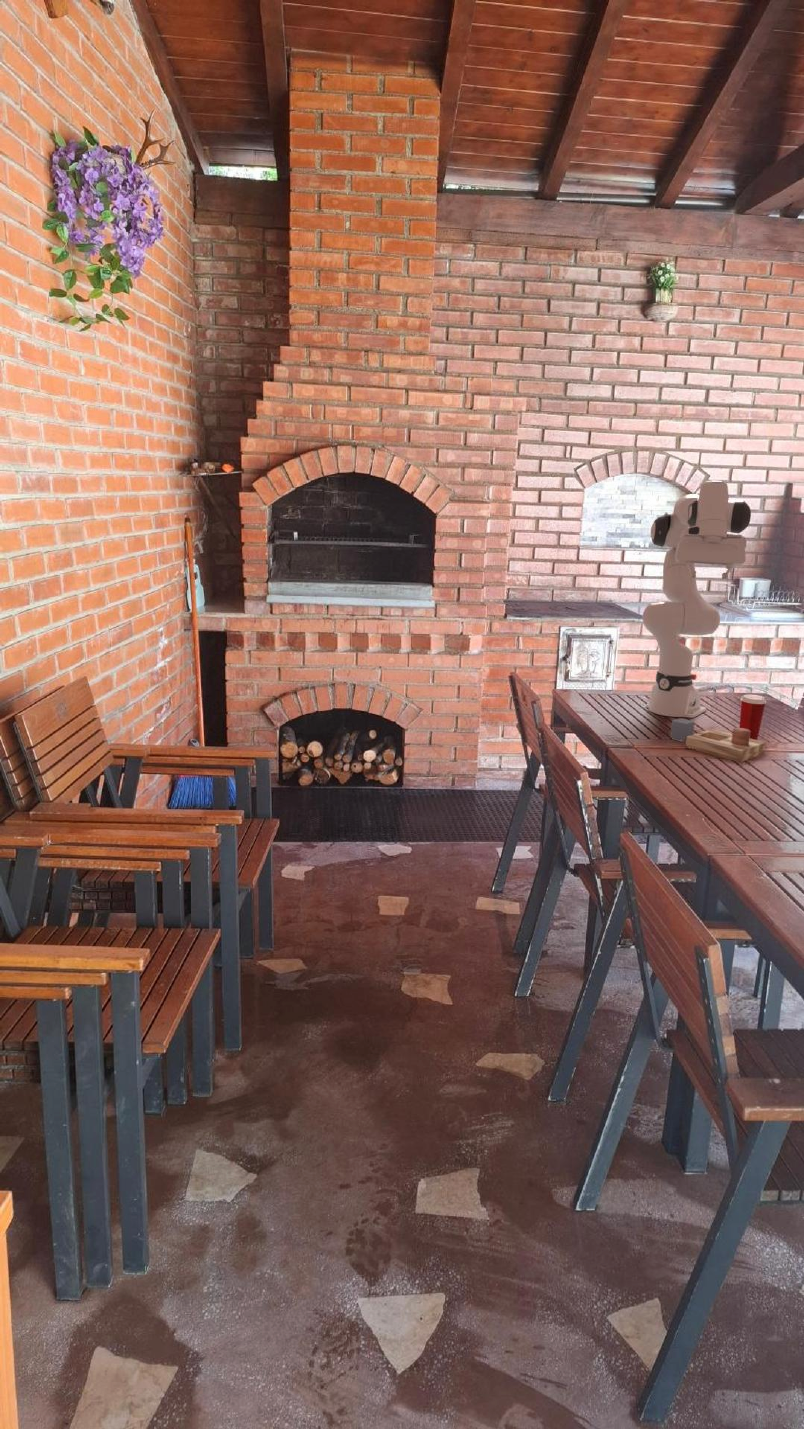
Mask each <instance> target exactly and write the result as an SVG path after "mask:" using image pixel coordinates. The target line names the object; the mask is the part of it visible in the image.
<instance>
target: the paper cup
mask: <svg viewBox="0 0 804 1429" xmlns="http://www.w3.org/2000/svg"><path fill="white" fill-rule="evenodd" d="M739 700H740V701H741V703H740V704H741V705H740V715H739V716H740V717H739V727H738V728H743V729H747V730H750V731H751V732H750V739H754V740H758V739H759V738H758V737H759V733H760V729H761V723H762V720H763V715H764V710H765V707H766V706H765V705H766V704H767V701H766V698H765V697H764V696H762V695H757V694H744V695H742V696H741V698H740V699H739Z"/></svg>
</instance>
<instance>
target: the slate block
mask: <svg viewBox="0 0 804 1429" xmlns="http://www.w3.org/2000/svg"><path fill="white" fill-rule="evenodd" d="M694 729H695V721H694V720H691V719H690V720H689V719H686V718H683V717H678V718H677V719H672V721H671V726H670V735H669V738H673V739H672V740H674V739H675V740H674V741H678V740H682V741H686V740H687V736H690V735H694Z"/></svg>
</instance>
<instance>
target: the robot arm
mask: <svg viewBox="0 0 804 1429" xmlns="http://www.w3.org/2000/svg"><path fill="white" fill-rule="evenodd" d="M751 517H752V510H751V507H750V506H749V504H748V503H747V502H746V501H745V500H738V499H737V500H730V499H729V487H728V483H727V482H725V481H721V480H707V481H703V482H702V483H701V485H700V489H699V493H698V494H696V493H689V494H688V493H687V494H685V495H683V496H681V497H680V498H678V500H676V502H675V504H674V506H673V513H669V514H668V512H664V514H662V515H660V516H658V517H657V518H656V519H654V521H653V522H652V525H651V527H650V538H651V541H652V543H653V545H654V546H657V547H662V548H663V547H667V548H670V549H668V550H667V552H666V553H665V556H664V562H663V569H662V584H663V592H664V595H665V597H666V598H667V600H669V601H657V602H650V603H649V604H647V606H646V607H645V609H644V610H643V613H642V622H643V626H644V627H645V628H646V630H647V631H648V632H649V633H650V634H652V636H653V637H654V638H655V640H656V642H657V645H658V650H659V652H658V653H659V656H658V657H659V659H658V670H657V672H656V675H655V682H656V683H654V684H653V685H652V688H651V692H650V697H649V702H648V703H646V706H645V707H646V708H647V709H648V711H649V712H651V713H652V714H657V715H660V716H665V717H674V718H690V719H692V718H693V719H694V718H696V717H697V716H699V715H701V714H703V713H704V712H707V707H705V706H703V705H701V700H702V699H701V698H702V697H701V693H700V692H699V691H698V690H697V689H696V688H695V686H694V685H693V684H694V683H693V681H696V680H697V674H696V673H695V674H694V673H692V667H693V658H694V654H693V651H692V649H691V648H689V647H688V646H687V645H685V644H683V643H681V642H680V641H678V635H683V636H684V635H686V636H697V637H698V636H699V637H700V636H707V635H712V634H714V633H715V632H716V631H717V629H718V628H719V625H720V623H721V615H720V612H719V611H718V609H717V607H716V606H714V605H712V604H711V603H709V602H708V601H706V599H705V598H704V597H703V596H702V595H701V594H700V591H699V589H698V585H697V571H696V566H695V564H699V565H715V566H716V565H717V566H726V567H725V569H726V571H725V572H723V573H721V580H722V581H723V580H725V581H727V580H728V579H729V573H730V572H731V571H732V569H733V567H734V566H735V567H740V566H742V565H743V564H745V563H746V548H747V539H746V537H744V536H743V535H742V534H740V533H742V532H744V531H745V530H746V529H747V528H748V527H749V525H750V522H751ZM731 533H732V534H731Z"/></svg>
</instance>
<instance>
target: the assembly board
mask: <svg viewBox="0 0 804 1429" xmlns="http://www.w3.org/2000/svg"><path fill="white" fill-rule="evenodd" d="M750 732H751V731H750V730H747V729H743V728H739V727H735V728H733V729H732V733H729V732H726V731H723V730H722V731H721V730H717V729H713V728H711V729H707V730H704V731H701V732H697V733H693V735H690V736H687V740H686V742H685V747H686V746H688V747H690V748H694V749H696V750H695V751H697V752H701V753H705V754H708V755H711V756H712V755H713V756H714V757H715V756H716V757H719V758H723V759H728V760H731V761H734V762H738V763H742V762H745V761H747V760H751V759H753V758H755V757H758V756H760V755H764V754H765V750H766V742H764V741H761V740H758V739H757V740H754V739H750ZM690 748H689V749H690Z"/></svg>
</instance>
